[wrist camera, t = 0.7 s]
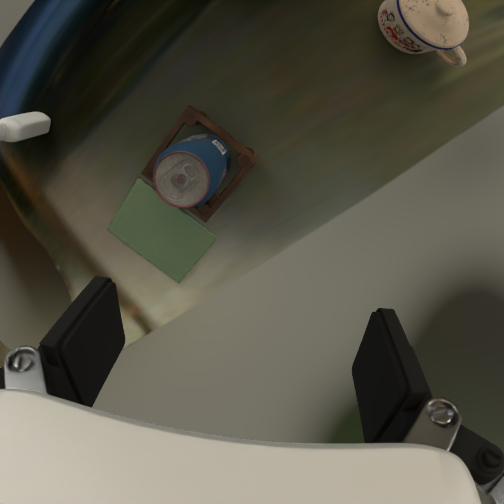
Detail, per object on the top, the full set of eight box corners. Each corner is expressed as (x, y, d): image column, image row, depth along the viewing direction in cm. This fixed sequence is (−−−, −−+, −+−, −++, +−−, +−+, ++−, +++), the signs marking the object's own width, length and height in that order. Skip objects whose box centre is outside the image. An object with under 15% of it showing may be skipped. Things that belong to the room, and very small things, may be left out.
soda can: (203, 193, 43) (178, 227, 33) (170, 155, 41) (133, 176, 30) (242, 162, 41) (230, 186, 30) (209, 121, 39) (183, 130, 28)
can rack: (154, 165, 42) (140, 173, 37) (198, 104, 38) (188, 105, 33) (213, 209, 44) (205, 223, 40) (260, 152, 40) (258, 159, 36)
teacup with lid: (360, 17, 31) (389, -9, 20) (403, -16, 28) (439, -43, 17) (422, 85, 34) (467, 85, 24) (460, 51, 31) (509, 45, 20)
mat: (108, 228, 47) (107, 229, 46) (139, 177, 43) (138, 178, 42) (180, 282, 50) (179, 283, 50) (217, 237, 46) (216, 238, 46)
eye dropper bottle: (37, 101, 38) (-17, 110, 27) (55, 123, 39) (2, 137, 29) (24, 121, 39) (-28, 135, 28) (41, 143, 41) (-10, 162, 30)
